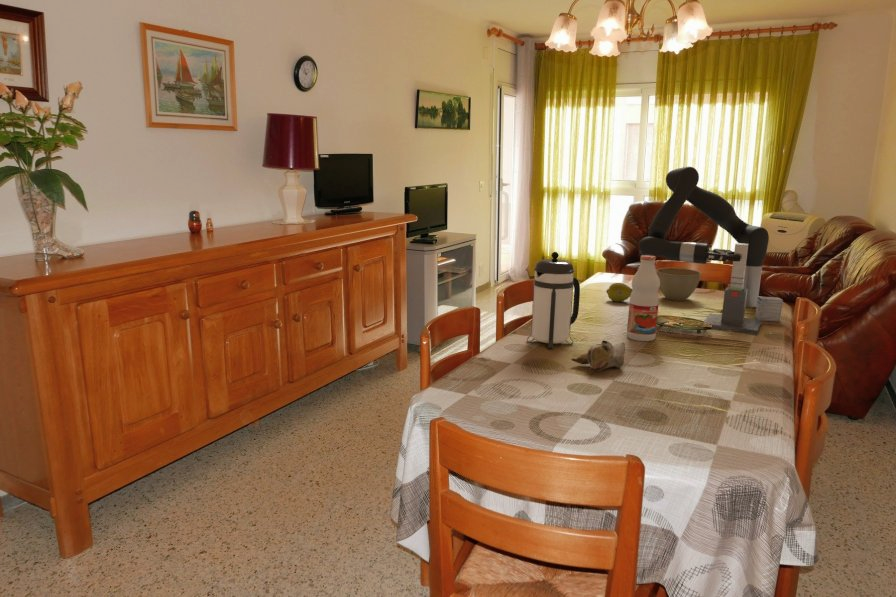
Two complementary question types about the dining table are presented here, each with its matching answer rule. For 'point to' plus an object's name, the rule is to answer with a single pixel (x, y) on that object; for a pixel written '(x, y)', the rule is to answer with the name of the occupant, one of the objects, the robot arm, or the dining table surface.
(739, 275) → the column
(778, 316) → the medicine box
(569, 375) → the dining table surface
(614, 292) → the lemon
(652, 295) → the fruit juice
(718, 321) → the stand
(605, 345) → the ceramic sculpture
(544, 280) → the coffee press
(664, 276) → the beige bowl
